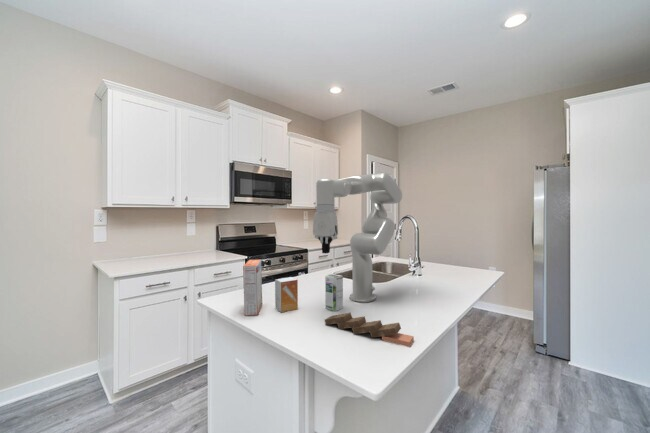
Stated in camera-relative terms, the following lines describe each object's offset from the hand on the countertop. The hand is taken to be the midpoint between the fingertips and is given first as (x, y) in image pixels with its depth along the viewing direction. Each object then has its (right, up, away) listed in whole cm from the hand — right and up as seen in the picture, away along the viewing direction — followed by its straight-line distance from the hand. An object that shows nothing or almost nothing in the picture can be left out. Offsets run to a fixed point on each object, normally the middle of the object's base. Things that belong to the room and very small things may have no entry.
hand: (325, 252), depth 120 cm
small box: (-17, -25, +5) cm, 31 cm away
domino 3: (+11, -25, -18) cm, 33 cm away
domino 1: (+1, -24, -10) cm, 27 cm away
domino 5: (+20, -25, -23) cm, 40 cm away
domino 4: (+16, -25, -21) cm, 36 cm away
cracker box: (-31, -26, +4) cm, 41 cm away
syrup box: (+4, -25, +6) cm, 26 cm away
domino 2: (+6, -25, -14) cm, 29 cm away
